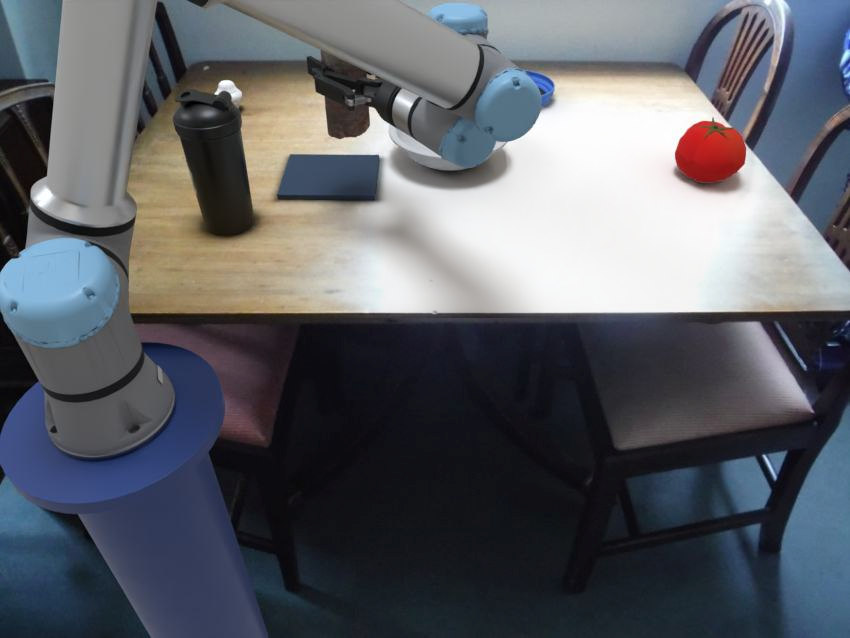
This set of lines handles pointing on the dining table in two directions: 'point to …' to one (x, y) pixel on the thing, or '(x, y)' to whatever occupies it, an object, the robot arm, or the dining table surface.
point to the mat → (330, 177)
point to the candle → (337, 114)
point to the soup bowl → (426, 151)
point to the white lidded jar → (230, 91)
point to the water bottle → (215, 159)
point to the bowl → (543, 86)
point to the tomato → (710, 152)
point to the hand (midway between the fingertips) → (330, 59)
